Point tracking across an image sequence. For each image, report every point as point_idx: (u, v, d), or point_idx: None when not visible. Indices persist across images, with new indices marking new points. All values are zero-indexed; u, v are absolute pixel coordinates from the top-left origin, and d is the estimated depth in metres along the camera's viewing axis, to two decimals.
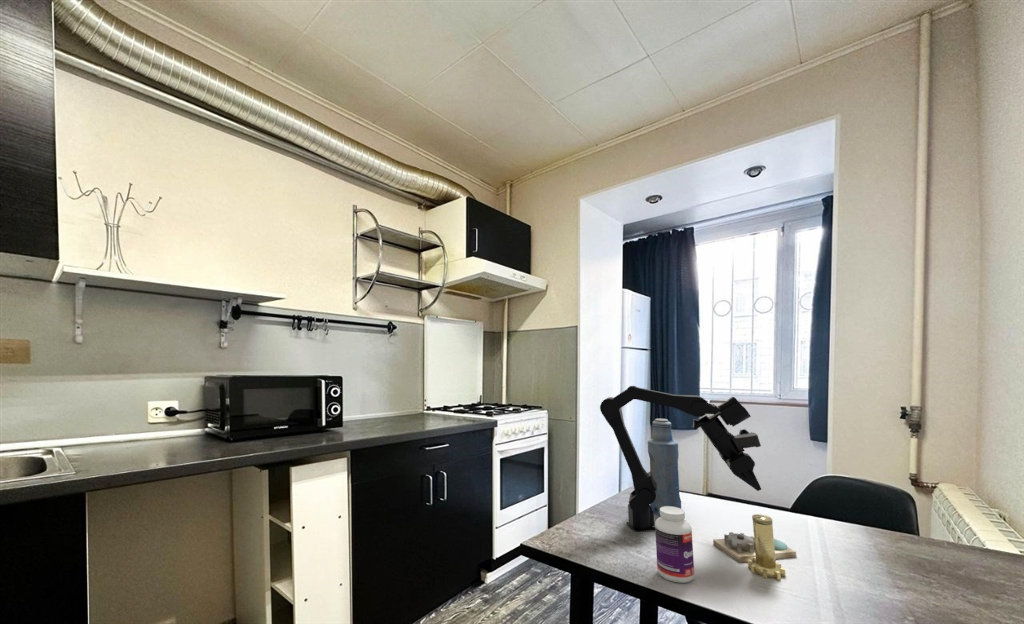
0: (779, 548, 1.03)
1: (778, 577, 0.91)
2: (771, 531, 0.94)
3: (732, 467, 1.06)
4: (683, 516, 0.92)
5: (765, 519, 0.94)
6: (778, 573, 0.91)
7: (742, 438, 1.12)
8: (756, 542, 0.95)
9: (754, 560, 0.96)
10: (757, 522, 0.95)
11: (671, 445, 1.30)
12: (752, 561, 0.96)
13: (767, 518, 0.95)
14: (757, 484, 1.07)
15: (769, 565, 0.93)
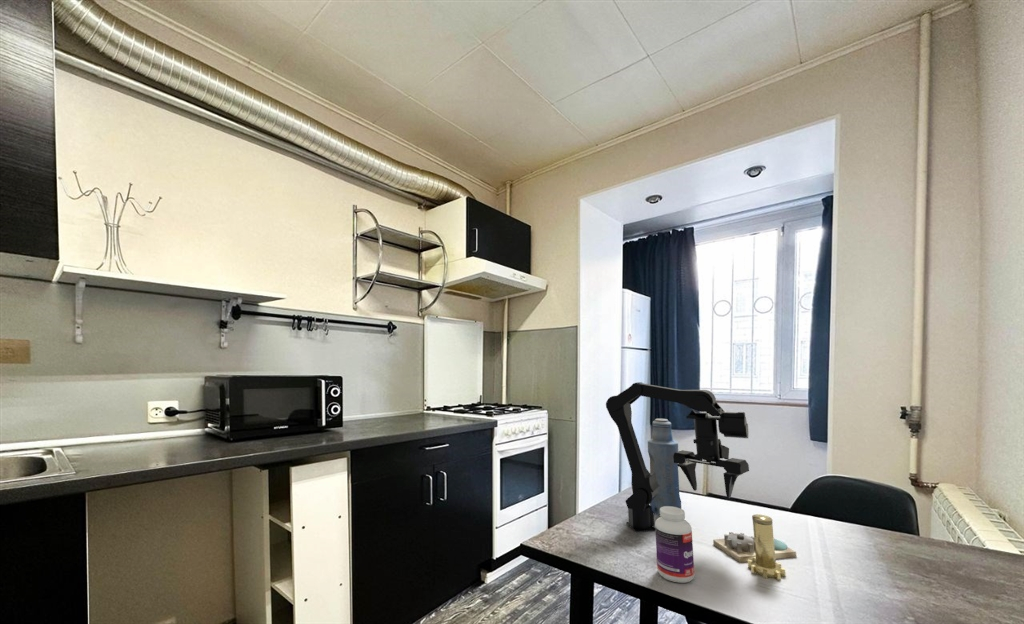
0: (779, 548, 1.03)
1: (778, 577, 0.91)
2: (771, 531, 0.94)
3: (740, 466, 1.03)
4: (683, 516, 0.92)
5: (765, 519, 0.94)
6: (778, 573, 0.91)
7: (723, 446, 1.13)
8: (756, 542, 0.95)
9: (754, 560, 0.96)
10: (757, 522, 0.95)
11: (671, 445, 1.30)
12: (752, 561, 0.96)
13: (767, 518, 0.95)
14: (731, 491, 1.06)
15: (769, 565, 0.93)
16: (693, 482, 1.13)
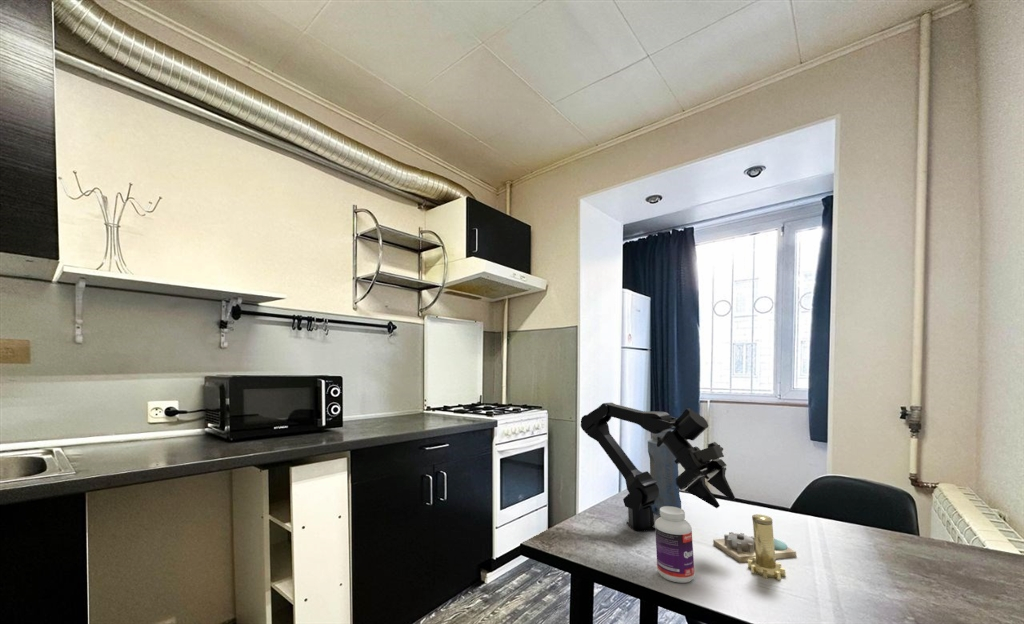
0: (779, 548, 1.03)
1: (778, 577, 0.91)
2: (771, 531, 0.94)
3: (676, 482, 1.03)
4: (683, 516, 0.92)
5: (765, 519, 0.94)
6: (778, 573, 0.91)
7: (698, 451, 1.06)
8: (756, 542, 0.95)
9: (754, 560, 0.96)
10: (757, 522, 0.95)
11: None
12: (752, 561, 0.96)
13: (767, 518, 0.95)
14: (713, 500, 0.99)
15: (769, 565, 0.93)
16: (724, 492, 1.07)
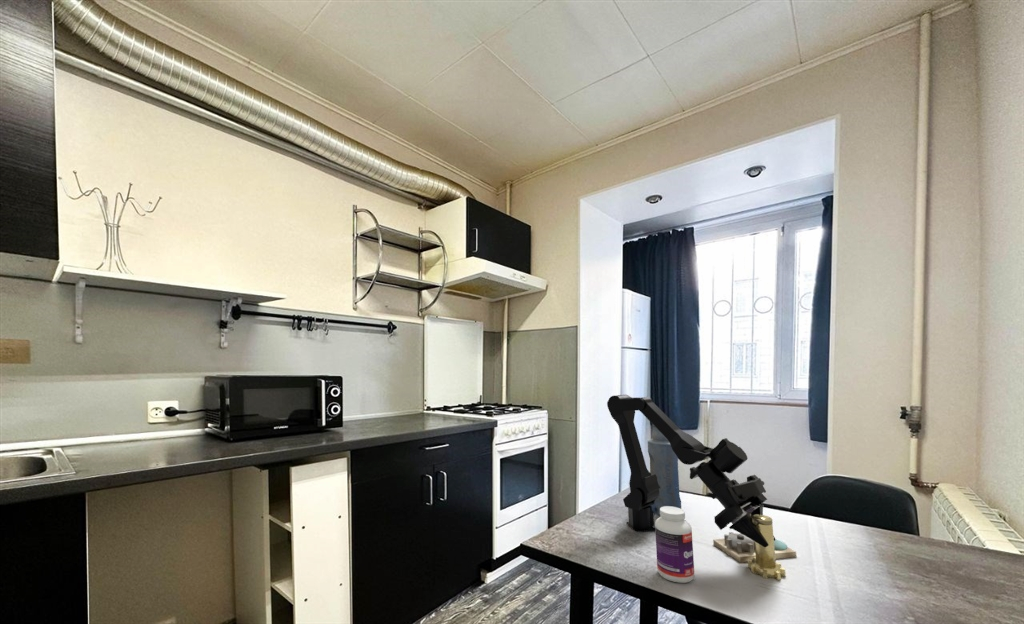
0: (779, 548, 1.03)
1: (778, 577, 0.91)
2: (771, 531, 0.94)
3: (715, 521, 0.95)
4: (683, 516, 0.92)
5: (765, 519, 0.94)
6: (778, 573, 0.91)
7: (737, 486, 0.98)
8: (756, 542, 0.95)
9: (754, 560, 0.96)
10: (757, 522, 0.95)
11: None
12: (752, 561, 0.96)
13: (767, 518, 0.95)
14: (761, 539, 0.93)
15: (769, 565, 0.93)
16: None
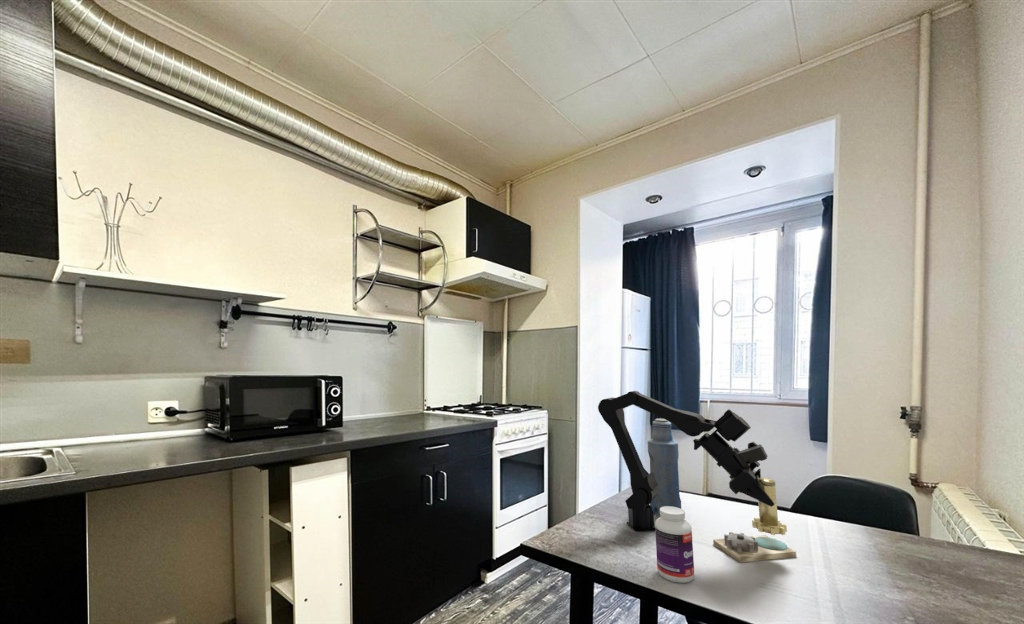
0: (779, 548, 1.03)
1: (783, 532, 0.98)
2: (775, 491, 1.02)
3: (731, 486, 1.00)
4: (683, 516, 0.92)
5: (770, 481, 1.02)
6: (783, 529, 0.99)
7: (744, 453, 1.05)
8: (762, 503, 1.02)
9: (757, 520, 1.03)
10: (763, 484, 1.02)
11: (671, 445, 1.30)
12: (756, 521, 1.03)
13: (770, 480, 1.03)
14: (768, 499, 1.00)
15: (774, 523, 1.00)
16: None
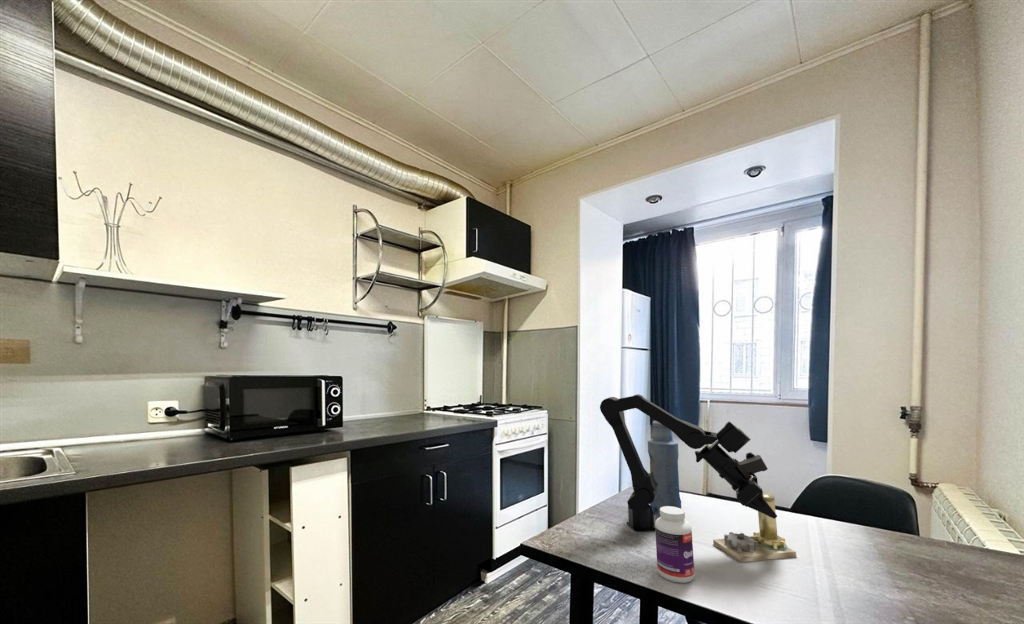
0: (779, 548, 1.03)
1: (784, 546, 1.03)
2: (774, 506, 1.06)
3: (739, 498, 1.02)
4: (683, 516, 0.92)
5: (769, 496, 1.06)
6: (784, 542, 1.03)
7: (746, 464, 1.08)
8: (763, 518, 1.06)
9: (757, 535, 1.07)
10: None
11: (671, 445, 1.30)
12: (757, 536, 1.06)
13: (770, 495, 1.07)
14: (771, 511, 1.02)
15: (775, 537, 1.04)
16: None
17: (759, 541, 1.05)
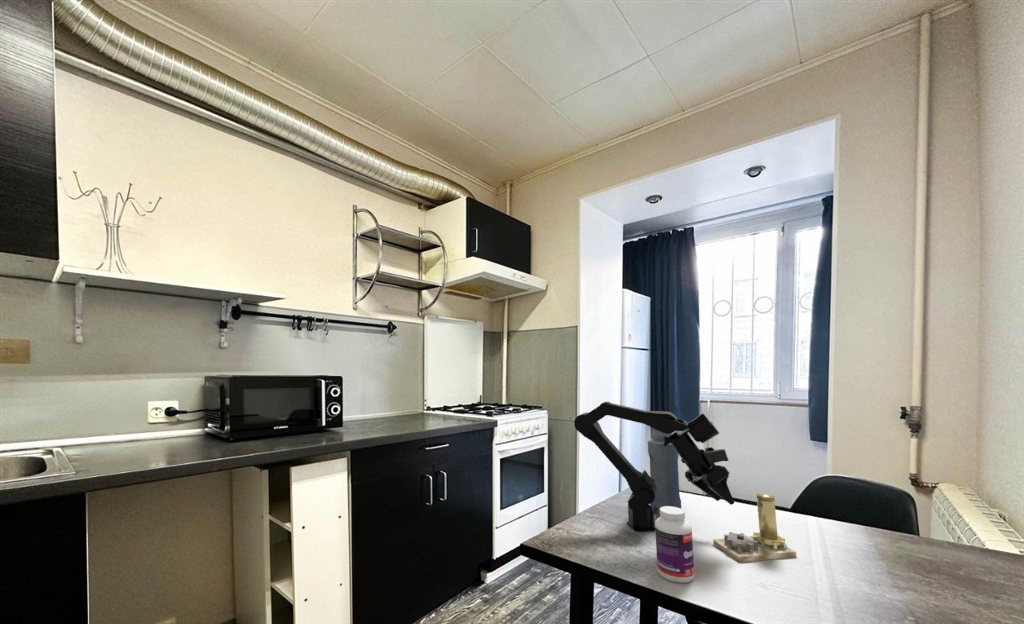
0: (779, 548, 1.03)
1: (784, 546, 1.03)
2: (774, 506, 1.06)
3: (709, 478, 1.06)
4: (683, 516, 0.92)
5: (769, 496, 1.06)
6: (784, 542, 1.03)
7: (712, 452, 1.14)
8: (763, 518, 1.06)
9: (757, 535, 1.07)
10: (764, 500, 1.06)
11: (671, 445, 1.30)
12: (757, 536, 1.06)
13: (770, 495, 1.07)
14: (730, 497, 1.07)
15: (775, 537, 1.04)
16: (711, 494, 1.17)
17: (759, 541, 1.05)
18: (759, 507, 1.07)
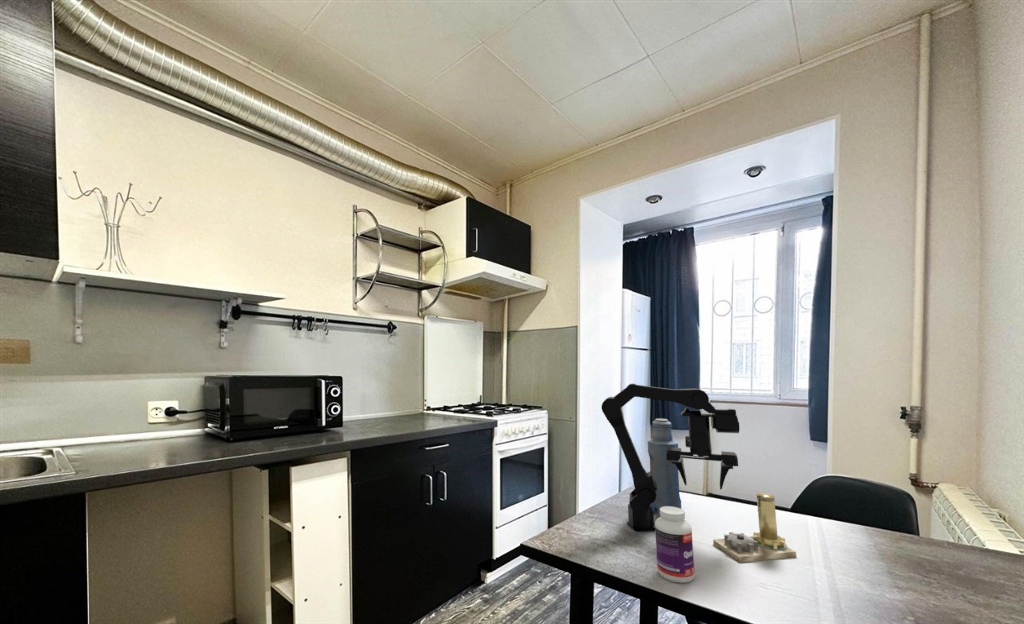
0: (779, 548, 1.03)
1: (784, 546, 1.03)
2: (774, 506, 1.06)
3: (737, 459, 1.11)
4: (683, 516, 0.92)
5: (769, 496, 1.06)
6: (784, 542, 1.03)
7: None
8: (763, 518, 1.06)
9: (757, 535, 1.07)
10: (764, 500, 1.06)
11: (671, 445, 1.30)
12: (757, 536, 1.06)
13: (770, 495, 1.07)
14: None
15: (775, 537, 1.04)
16: (685, 477, 1.18)
17: (759, 541, 1.05)
18: (759, 507, 1.07)
